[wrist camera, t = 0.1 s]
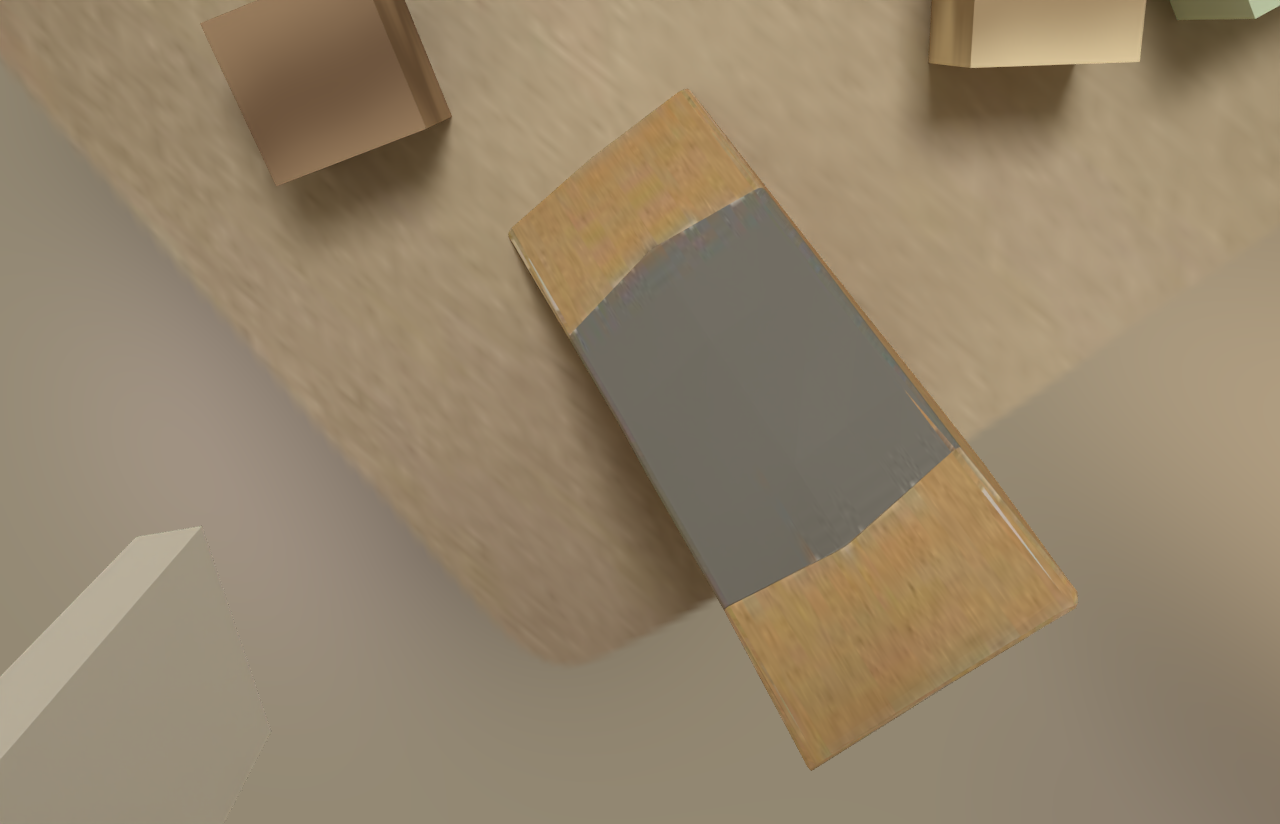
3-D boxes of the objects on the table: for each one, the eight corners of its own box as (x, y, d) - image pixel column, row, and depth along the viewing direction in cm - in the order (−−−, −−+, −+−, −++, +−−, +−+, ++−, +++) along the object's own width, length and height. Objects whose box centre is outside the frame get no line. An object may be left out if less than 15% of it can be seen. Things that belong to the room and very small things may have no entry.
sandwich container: (688, 74, 38) (722, 100, 23) (936, 407, 42) (1093, 602, 27) (497, 230, 39) (420, 343, 25) (753, 536, 43) (811, 782, 29)
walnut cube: (255, 24, 37) (200, 23, 32) (392, -31, 36) (356, -40, 32) (320, 167, 38) (276, 186, 34) (452, 116, 38) (426, 128, 33)
